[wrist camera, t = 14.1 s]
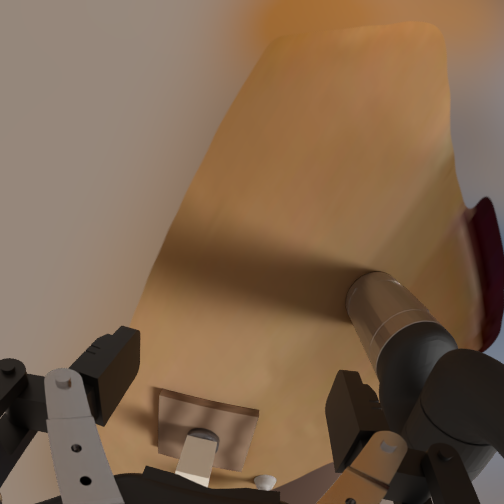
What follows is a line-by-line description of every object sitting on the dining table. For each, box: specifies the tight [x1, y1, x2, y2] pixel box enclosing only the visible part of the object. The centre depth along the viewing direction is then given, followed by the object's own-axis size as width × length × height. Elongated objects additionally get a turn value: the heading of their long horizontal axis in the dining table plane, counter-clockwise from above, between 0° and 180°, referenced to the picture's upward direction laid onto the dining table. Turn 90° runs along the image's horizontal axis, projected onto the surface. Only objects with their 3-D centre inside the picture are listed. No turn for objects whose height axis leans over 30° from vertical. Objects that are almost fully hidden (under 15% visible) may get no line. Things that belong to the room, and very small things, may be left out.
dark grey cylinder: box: [185, 428, 220, 453], centre depth 49 cm, size 6×6×10 cm
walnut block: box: [158, 389, 259, 472], centre depth 55 cm, size 18×18×2 cm
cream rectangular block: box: [175, 435, 217, 487], centre depth 47 cm, size 6×6×9 cm
